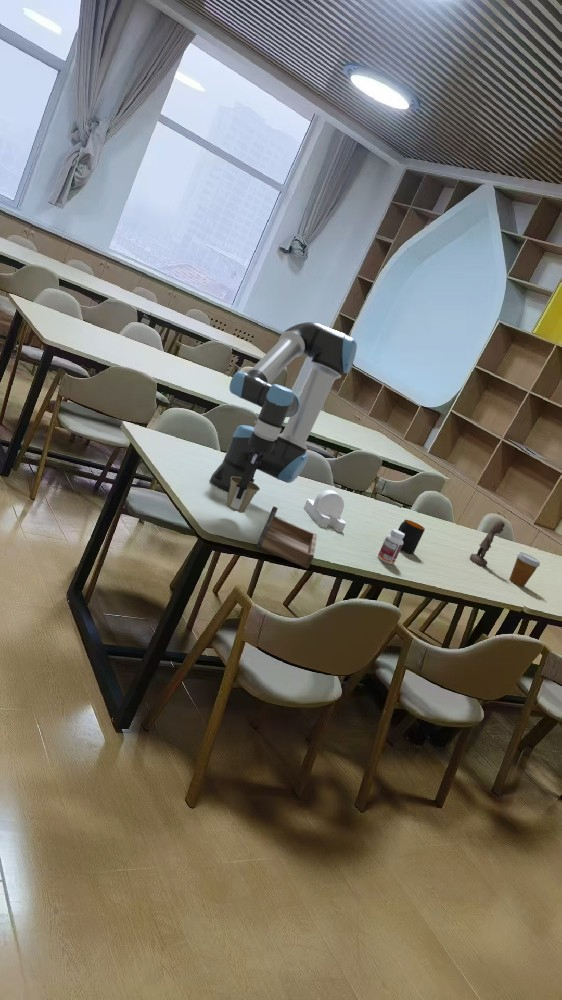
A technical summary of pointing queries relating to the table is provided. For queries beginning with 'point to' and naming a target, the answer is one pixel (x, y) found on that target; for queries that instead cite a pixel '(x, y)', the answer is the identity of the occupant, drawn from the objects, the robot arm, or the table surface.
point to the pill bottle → (391, 547)
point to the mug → (410, 535)
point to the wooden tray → (287, 541)
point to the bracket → (327, 510)
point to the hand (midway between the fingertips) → (237, 503)
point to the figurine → (487, 544)
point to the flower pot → (247, 498)
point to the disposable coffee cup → (523, 569)
